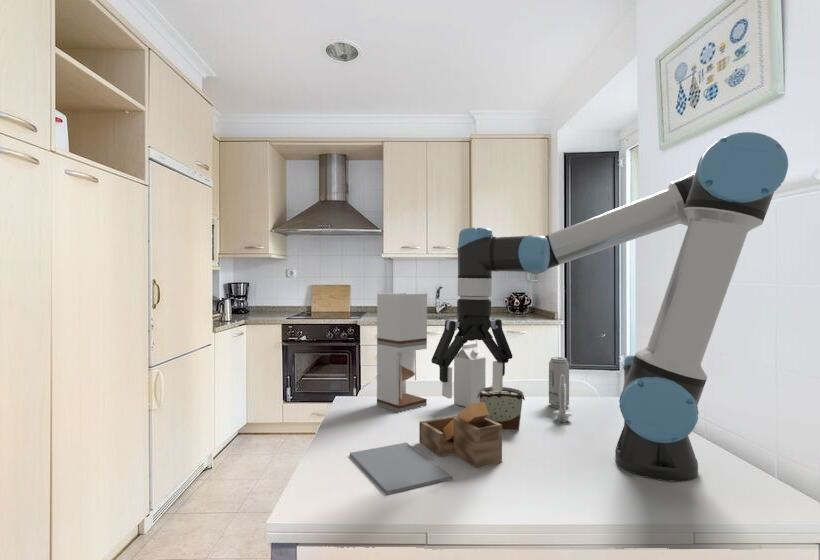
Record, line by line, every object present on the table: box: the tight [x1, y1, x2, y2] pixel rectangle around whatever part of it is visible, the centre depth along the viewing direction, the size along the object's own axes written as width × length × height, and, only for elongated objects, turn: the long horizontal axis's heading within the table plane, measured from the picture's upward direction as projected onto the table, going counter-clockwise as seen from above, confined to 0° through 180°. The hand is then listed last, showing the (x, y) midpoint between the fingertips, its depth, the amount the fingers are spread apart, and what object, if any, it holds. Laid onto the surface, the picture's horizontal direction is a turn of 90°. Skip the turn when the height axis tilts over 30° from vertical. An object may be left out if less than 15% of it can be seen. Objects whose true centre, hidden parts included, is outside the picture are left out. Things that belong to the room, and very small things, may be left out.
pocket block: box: [418, 415, 503, 469], centre depth 100 cm, size 18×14×8 cm
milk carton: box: [453, 343, 487, 408], centre depth 138 cm, size 7×7×19 cm
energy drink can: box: [548, 356, 570, 409], centre depth 136 cm, size 6×6×15 cm
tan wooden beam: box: [443, 402, 489, 441], centre depth 100 cm, size 14×4×3 cm
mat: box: [349, 442, 453, 495], centre depth 91 cm, size 20×14×1 cm
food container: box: [477, 386, 526, 432], centre depth 117 cm, size 12×6×10 cm, turn 84°
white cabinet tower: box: [376, 292, 428, 413], centre depth 137 cm, size 11×11×35 cm
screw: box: [553, 374, 573, 423], centre depth 122 cm, size 13×5×5 cm
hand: (472, 393), depth 97 cm, fingers open, 13 cm apart
